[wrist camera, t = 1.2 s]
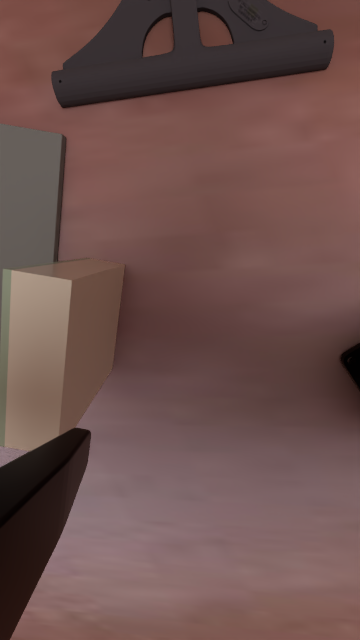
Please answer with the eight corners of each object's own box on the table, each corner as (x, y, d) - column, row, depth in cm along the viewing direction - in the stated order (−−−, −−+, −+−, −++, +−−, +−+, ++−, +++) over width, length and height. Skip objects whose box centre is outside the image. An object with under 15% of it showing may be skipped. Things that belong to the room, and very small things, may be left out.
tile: (125, 264, 20) (71, 280, 11) (112, 368, 21) (57, 455, 13) (86, 257, 20) (2, 268, 11) (76, 362, 21) (-3, 445, 13)
